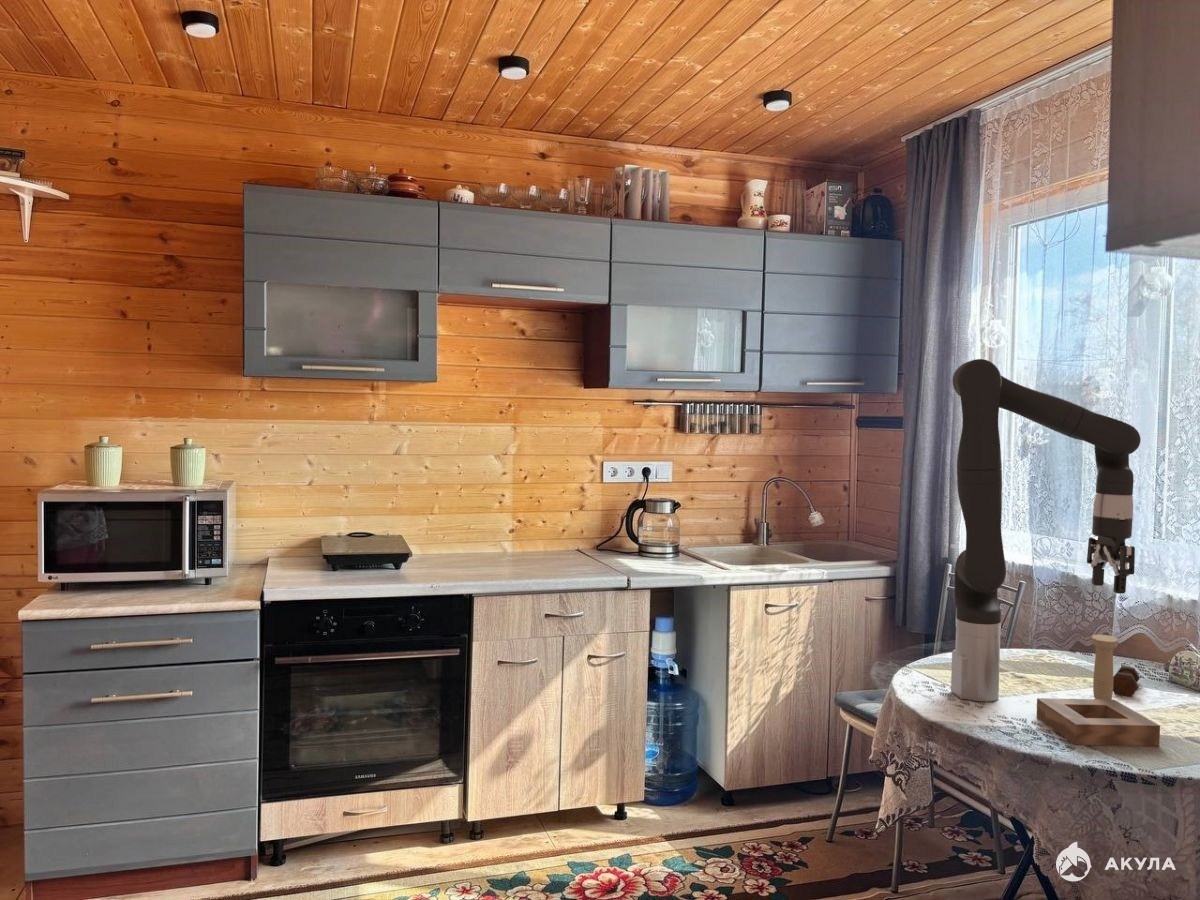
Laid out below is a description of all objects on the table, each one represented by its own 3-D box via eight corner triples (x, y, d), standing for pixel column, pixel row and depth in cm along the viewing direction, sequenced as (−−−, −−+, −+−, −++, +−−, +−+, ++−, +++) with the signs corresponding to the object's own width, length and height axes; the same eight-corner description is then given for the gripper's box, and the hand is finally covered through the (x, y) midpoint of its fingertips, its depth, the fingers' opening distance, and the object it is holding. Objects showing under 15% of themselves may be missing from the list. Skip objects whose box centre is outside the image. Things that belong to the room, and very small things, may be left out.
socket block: (1075, 744, 175) (1076, 724, 175) (1036, 717, 191) (1037, 698, 191) (1159, 746, 175) (1160, 725, 175) (1113, 718, 191) (1114, 699, 191)
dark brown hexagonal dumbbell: (1132, 689, 218) (1126, 703, 206) (1111, 675, 221) (1104, 688, 208) (1147, 670, 217) (1142, 683, 204) (1126, 656, 219) (1120, 668, 207)
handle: (1090, 708, 197) (1093, 640, 196) (1089, 700, 203) (1091, 633, 202) (1116, 712, 195) (1118, 642, 194) (1113, 703, 201) (1116, 636, 200)
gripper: (1078, 510, 204) (1074, 582, 205) (1113, 518, 190) (1109, 595, 191) (1111, 511, 204) (1107, 583, 205) (1149, 519, 190) (1145, 596, 191)
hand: (1108, 589), depth 198 cm, fingers open, 8 cm apart
